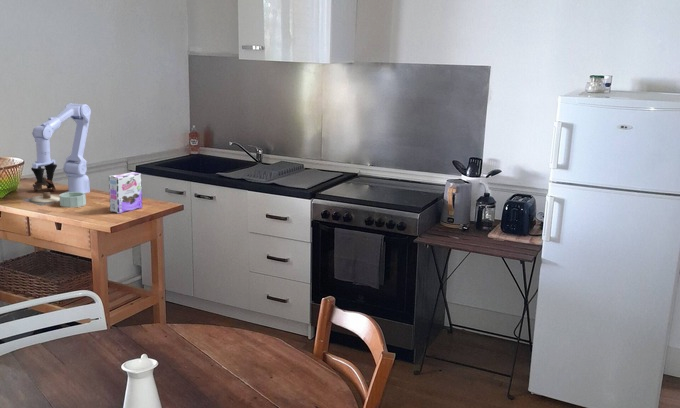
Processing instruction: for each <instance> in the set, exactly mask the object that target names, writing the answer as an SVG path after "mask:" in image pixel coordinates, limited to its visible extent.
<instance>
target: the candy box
mask: <svg viewBox="0 0 680 408" xmlns="http://www.w3.org/2000/svg"><path fill="white" fill-rule="evenodd" d="M142 184H143V183H142V173H139V172H136V171H135V172H134V171H132V172H127V173H126V172H125V173H120V174H114V175H108V187H109V188H108V190H109V191H108V194H109V195H108V196H109V211H110V212H112V213H115V214H121V213H125V212H126V213H127V212H131V211H135V210H139V209H140V210H141V209H143V189H142V188H143V187H142V186H143V185H142Z"/></svg>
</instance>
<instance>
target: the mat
mask: <svg viewBox="0 0 680 408" xmlns="http://www.w3.org/2000/svg"><path fill="white" fill-rule="evenodd" d="M50 195H55V193H54V194H52V193H50ZM30 198H31V197H29V198H23V199H21V201H24V202H27V203H31V204H34V205H37V206H46V205H50V204H57V203H60V201H58V202H52V203H35V202H31V201H30Z"/></svg>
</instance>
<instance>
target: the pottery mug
mask: <svg viewBox="0 0 680 408" xmlns="http://www.w3.org/2000/svg"><path fill="white" fill-rule="evenodd" d="M43 187H46V189H50V190H52V192H53V193H54V192H56V191H57V189H56V187H55V184H54V182H53V180H48V179H47V176H46V177H45V176H43V183H38V182H37V180H36V181H35V182H34V183H33V184H32V188H33V191H34V192H37V191H38V190H42V189H43Z"/></svg>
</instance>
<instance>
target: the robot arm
mask: <svg viewBox="0 0 680 408" xmlns="http://www.w3.org/2000/svg"><path fill="white" fill-rule="evenodd" d="M91 114H92V110H91V108H90V106H89V105H88V104H86V103H84V104H83V103H74V102H73V103H72V102H70V103H67V105H65V107H64V109H63V110H62V111H61V112H59V113H58V115H56V116H52V117H51V116H50V117H48V119H47V120H46V121H44V122H42V123H41V124H40V125H36V126H35V127H34V128H33V130H32V132H31V134H32V137H33V139H34V142H35V148H36V160H35V161H34V163H32V165H31V166H32V167H31V171H32V173H33V174H34V176H35V179H36V181H37V182H38V183H43V178H44V172H46V174H45V175H46V179H48V180H52V181H53V180H54V174H55V172H56V169H57V167H58V164H56V159H52V158H51V141H50V140H51V138H52V136H53V134H54V133H55V131H57V130H58V129H59V128H60V127H61V126H62V123H63V122H65V121H66V120H68V119H69V118H70V119H72V120H73V122H75V124H76V127H75V133H74V138H73V142H72V143H73V144H72V148H71V152H70V153H71V154H70V155H69V156H68V157H66V159H65V161H64V163H63V167H62V168H63V172H64V174H66V176H67V184H68V185H67V186H68V187H67V190H68V191H64V193H67V192H82V193H85V194H88V193H90V194H91V191H90V190H91V189H90V187H91V185H90V179H89V176H88V175H87V171H88V167H87V163H88V161H87V160H86V159H85V158H84V152H85V148H86V142H87V137H88V131H89V127H90V126H89V125H90V119H91ZM43 167H44V168H43Z"/></svg>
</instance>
